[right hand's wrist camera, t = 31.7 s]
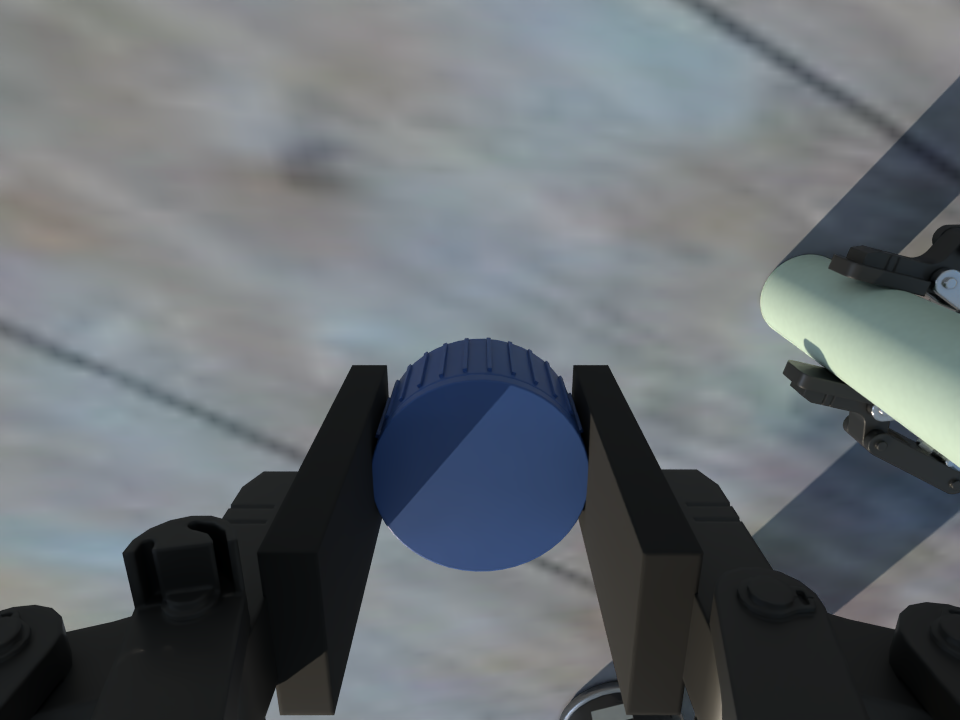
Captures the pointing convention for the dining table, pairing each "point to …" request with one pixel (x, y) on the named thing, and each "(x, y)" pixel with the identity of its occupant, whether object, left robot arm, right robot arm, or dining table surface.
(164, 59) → the dining table surface
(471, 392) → the cap
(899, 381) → the bottle
